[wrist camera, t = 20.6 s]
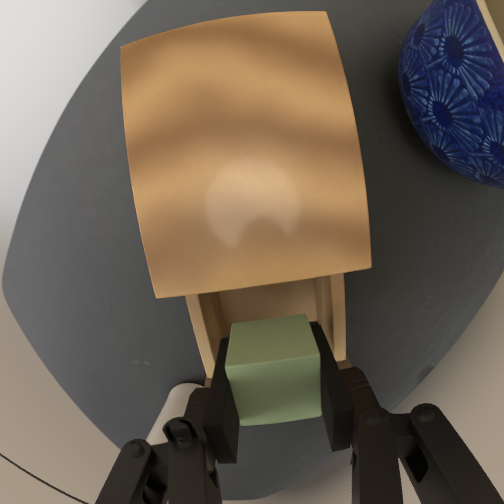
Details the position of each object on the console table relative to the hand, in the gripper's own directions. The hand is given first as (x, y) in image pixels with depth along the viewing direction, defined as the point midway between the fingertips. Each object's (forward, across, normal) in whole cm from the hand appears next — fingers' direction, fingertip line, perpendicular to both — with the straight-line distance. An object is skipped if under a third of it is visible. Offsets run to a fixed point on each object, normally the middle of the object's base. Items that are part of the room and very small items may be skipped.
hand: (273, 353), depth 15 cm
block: (0, 0, 0) cm, 0 cm away
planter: (+9, +20, +15) cm, 27 cm away
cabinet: (+9, 0, +11) cm, 15 cm away
